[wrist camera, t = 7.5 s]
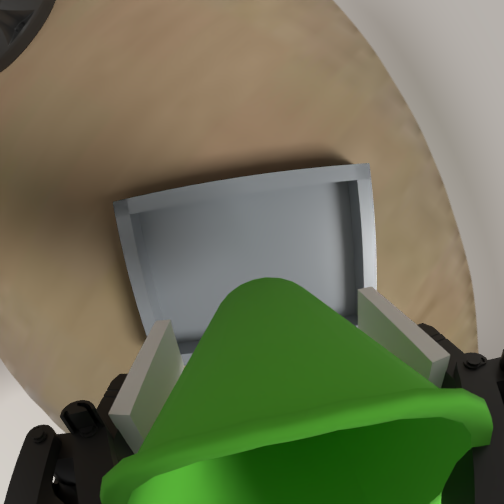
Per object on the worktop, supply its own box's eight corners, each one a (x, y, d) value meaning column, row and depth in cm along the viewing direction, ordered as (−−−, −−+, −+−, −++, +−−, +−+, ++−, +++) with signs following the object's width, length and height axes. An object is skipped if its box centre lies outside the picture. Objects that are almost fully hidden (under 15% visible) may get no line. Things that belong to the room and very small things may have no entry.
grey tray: (126, 199, 23) (112, 202, 20) (354, 164, 23) (369, 163, 20) (164, 349, 26) (157, 367, 23) (362, 318, 26) (375, 332, 23)
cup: (268, 193, 13) (406, 245, 2) (380, 316, 15) (507, 455, 4) (143, 322, 14) (47, 502, 3) (264, 412, 16) (286, 574, 5)
